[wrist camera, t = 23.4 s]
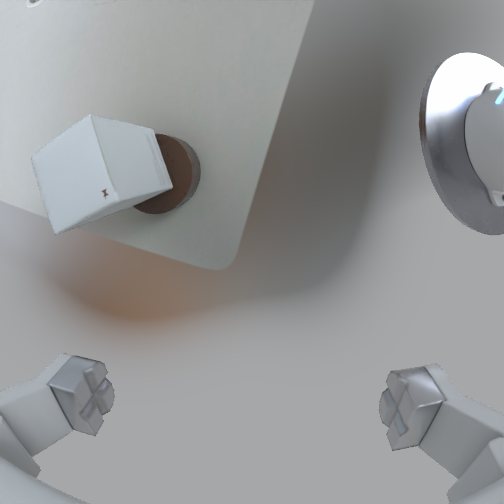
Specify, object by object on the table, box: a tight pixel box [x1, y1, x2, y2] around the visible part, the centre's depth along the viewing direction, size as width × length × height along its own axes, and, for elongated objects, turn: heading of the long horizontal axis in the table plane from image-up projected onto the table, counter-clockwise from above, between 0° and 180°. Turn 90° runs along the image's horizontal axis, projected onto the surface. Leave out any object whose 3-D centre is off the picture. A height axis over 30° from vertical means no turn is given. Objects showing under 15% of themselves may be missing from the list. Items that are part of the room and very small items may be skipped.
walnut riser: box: [133, 134, 200, 214], centre depth 32 cm, size 9×9×4 cm
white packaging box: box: [31, 115, 173, 235], centre depth 24 cm, size 7×7×13 cm
